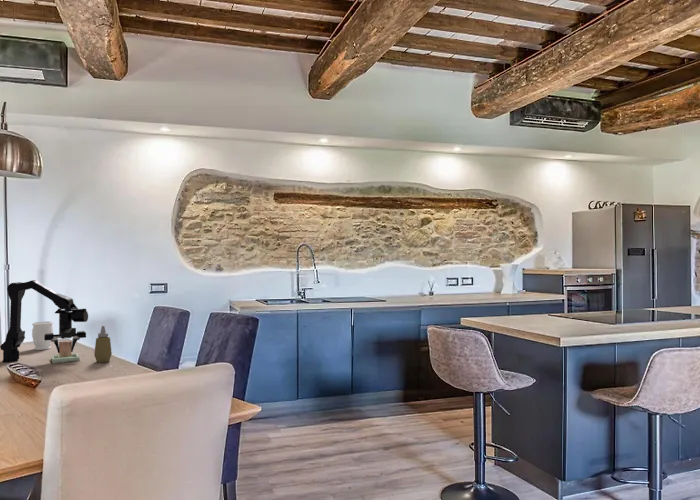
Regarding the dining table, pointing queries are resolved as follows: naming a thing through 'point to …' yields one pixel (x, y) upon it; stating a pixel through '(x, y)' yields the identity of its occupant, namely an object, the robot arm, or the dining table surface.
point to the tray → (65, 358)
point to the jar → (41, 335)
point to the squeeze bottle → (103, 347)
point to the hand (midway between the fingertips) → (65, 352)
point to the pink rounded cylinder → (65, 348)
